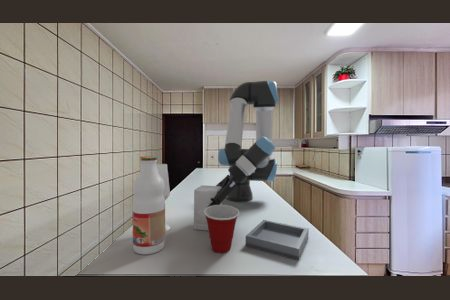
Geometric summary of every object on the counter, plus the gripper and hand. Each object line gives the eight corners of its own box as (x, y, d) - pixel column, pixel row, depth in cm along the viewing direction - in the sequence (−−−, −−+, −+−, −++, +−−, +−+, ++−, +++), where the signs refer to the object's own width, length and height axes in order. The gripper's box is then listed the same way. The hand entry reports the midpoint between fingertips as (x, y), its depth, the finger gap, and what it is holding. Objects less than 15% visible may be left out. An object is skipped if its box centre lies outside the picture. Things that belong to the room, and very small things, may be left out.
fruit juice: (166, 252, 63) (165, 157, 62) (131, 258, 60) (130, 158, 58) (164, 238, 71) (164, 155, 70) (134, 242, 68) (133, 155, 67)
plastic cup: (210, 261, 58) (210, 218, 57) (199, 244, 68) (199, 206, 67) (245, 253, 62) (246, 213, 62) (230, 238, 72) (230, 203, 72)
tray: (263, 228, 81) (263, 219, 80) (308, 237, 72) (308, 228, 72) (245, 245, 67) (245, 235, 67) (298, 260, 59) (298, 249, 59)
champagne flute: (161, 223, 85) (161, 163, 84) (173, 227, 81) (173, 164, 80) (147, 229, 79) (146, 164, 78) (160, 233, 75) (159, 166, 74)
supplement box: (216, 232, 77) (217, 190, 76) (193, 229, 79) (193, 189, 78) (222, 222, 86) (222, 185, 85) (200, 220, 88) (201, 184, 87)
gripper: (255, 182, 71) (208, 229, 70) (243, 172, 95) (208, 207, 94) (239, 166, 70) (192, 213, 70) (231, 160, 94) (196, 195, 93)
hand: (201, 210), depth 82 cm, fingers open, 11 cm apart
